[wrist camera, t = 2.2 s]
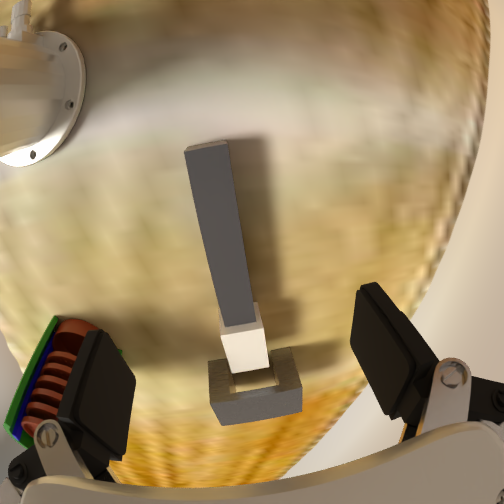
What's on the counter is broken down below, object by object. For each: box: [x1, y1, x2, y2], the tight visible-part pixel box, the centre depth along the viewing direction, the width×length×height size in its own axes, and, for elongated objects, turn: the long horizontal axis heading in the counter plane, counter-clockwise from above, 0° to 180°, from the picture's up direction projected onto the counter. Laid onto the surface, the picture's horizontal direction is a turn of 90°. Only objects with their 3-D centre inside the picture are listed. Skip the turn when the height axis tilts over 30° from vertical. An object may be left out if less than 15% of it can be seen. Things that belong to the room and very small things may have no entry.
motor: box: [3, 315, 122, 449], centre depth 20 cm, size 10×9×20 cm
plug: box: [184, 140, 269, 373], centre depth 24 cm, size 22×4×4 cm, turn 8°
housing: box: [208, 347, 302, 426], centre depth 31 cm, size 6×10×6 cm, turn 98°
